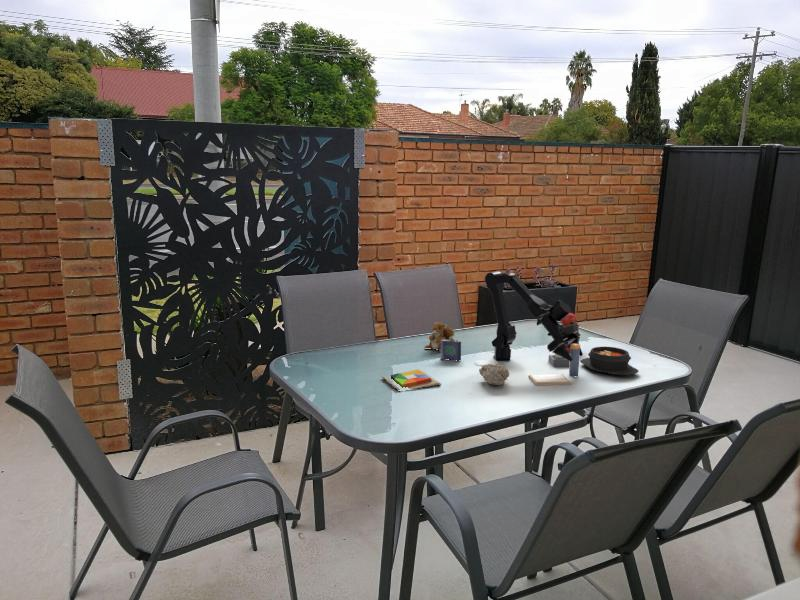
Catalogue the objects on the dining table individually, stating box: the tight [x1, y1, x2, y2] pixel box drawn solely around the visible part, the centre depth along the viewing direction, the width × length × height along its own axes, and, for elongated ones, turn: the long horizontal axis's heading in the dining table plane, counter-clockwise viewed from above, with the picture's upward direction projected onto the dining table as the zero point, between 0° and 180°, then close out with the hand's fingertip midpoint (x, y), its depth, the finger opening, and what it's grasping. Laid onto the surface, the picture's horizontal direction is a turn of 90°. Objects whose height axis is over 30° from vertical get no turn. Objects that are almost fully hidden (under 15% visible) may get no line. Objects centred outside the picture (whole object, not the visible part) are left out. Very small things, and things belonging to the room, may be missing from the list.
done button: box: [553, 353, 564, 359], centre depth 259 cm, size 4×4×4 cm
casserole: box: [579, 346, 639, 376], centre depth 251 cm, size 25×19×8 cm
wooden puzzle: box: [381, 368, 442, 391], centre depth 236 cm, size 18×19×4 cm
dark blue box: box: [440, 336, 462, 362], centre depth 265 cm, size 9×3×11 cm, turn 71°
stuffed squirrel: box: [424, 321, 456, 352], centre depth 283 cm, size 10×14×13 cm
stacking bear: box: [560, 312, 580, 354], centre depth 280 cm, size 11×10×18 cm
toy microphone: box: [568, 343, 581, 378], centre depth 243 cm, size 4×4×13 cm
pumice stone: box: [478, 363, 510, 386], centre depth 233 cm, size 14×12×8 cm
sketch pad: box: [528, 373, 572, 386], centre depth 238 cm, size 14×10×1 cm
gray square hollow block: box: [547, 354, 570, 367], centre depth 260 cm, size 7×7×3 cm
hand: (576, 358), depth 242 cm, fingers open, 9 cm apart
